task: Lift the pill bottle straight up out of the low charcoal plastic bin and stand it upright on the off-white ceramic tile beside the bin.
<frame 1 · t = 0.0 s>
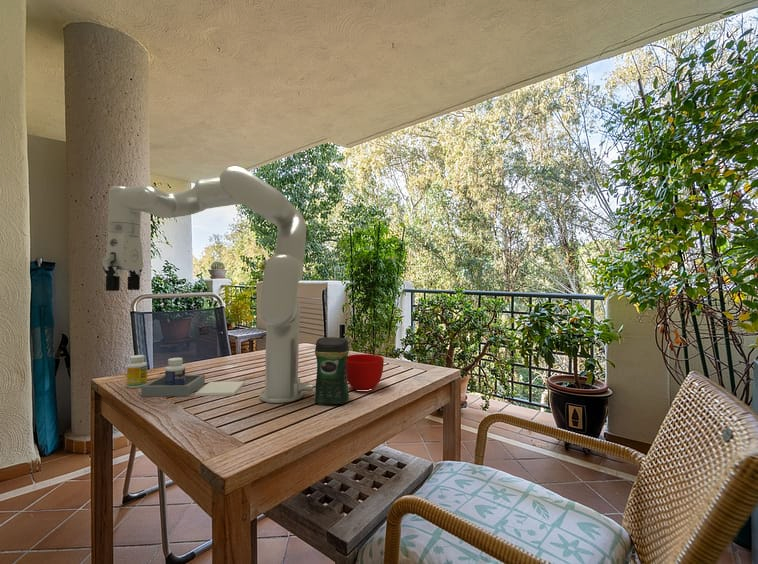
hand: (123, 290, 103), 31 cm above the table, tool pointing down, fingers open, 9 cm apart
ceramic cup: (363, 387, 119), on the table
tile: (221, 389, 113), on the table
supplement bottle: (136, 386, 116), on the table
pill bottle: (175, 390, 112), resting in bin
bin: (175, 389, 112), on the table
coffee jar: (331, 402, 104), on the table
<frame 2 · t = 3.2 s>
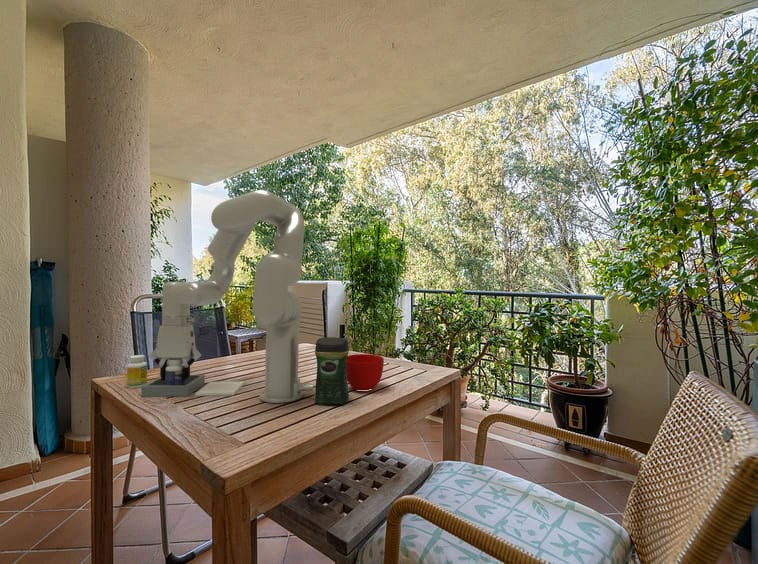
hand: (175, 378, 112), 4 cm above the table, tool pointing down, fingers closed on pill bottle, 5 cm apart
pill bottle: (175, 390, 112), resting in bin, touching gripper
everything else where it was.
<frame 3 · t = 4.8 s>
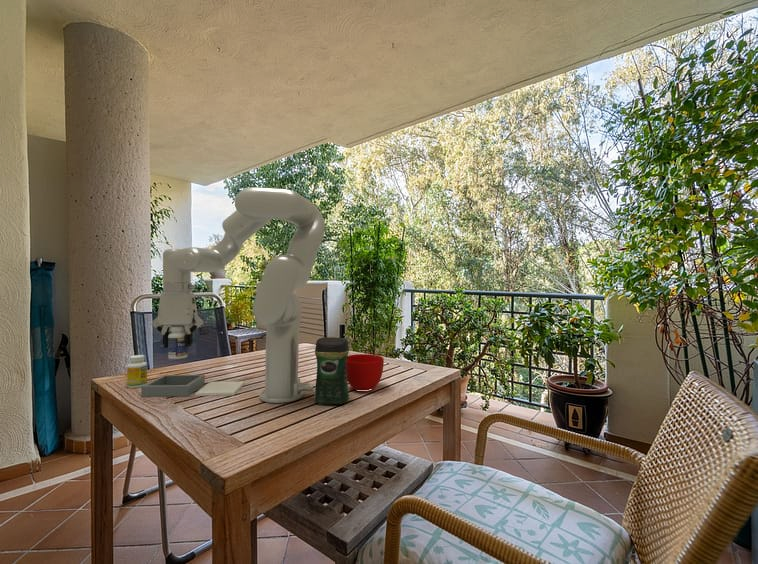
hand: (177, 346, 112), 14 cm above the table, tool pointing down, fingers closed on pill bottle, 5 cm apart
pill bottle: (178, 358, 112), point 10 cm above the table, touching gripper
everything else where it was.
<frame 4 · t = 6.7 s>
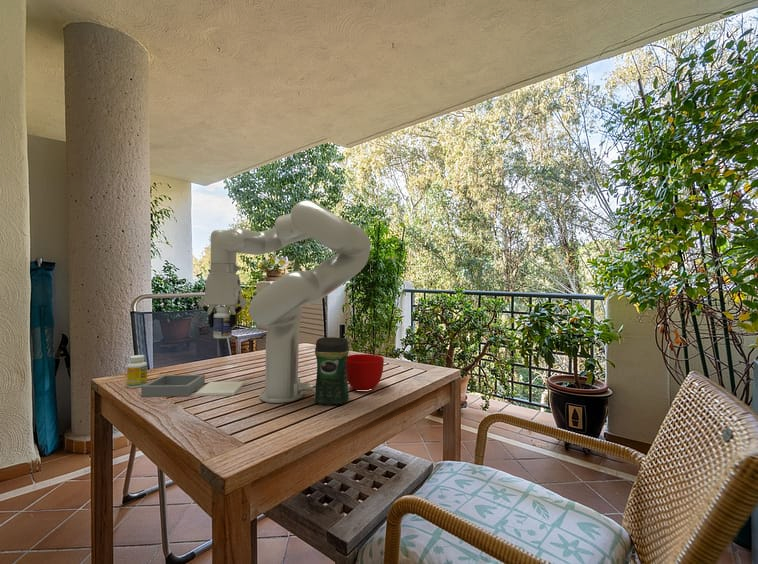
hand: (222, 326, 113), 20 cm above the table, tool pointing down, fingers closed on pill bottle, 5 cm apart
pill bottle: (222, 338, 113), point 16 cm above the table, touching gripper
everything else where it was.
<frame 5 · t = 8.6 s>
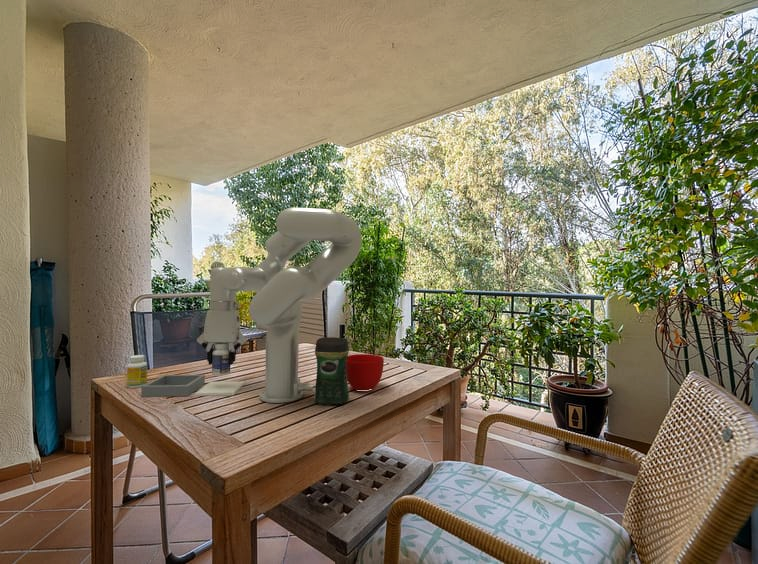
hand: (221, 363, 113), 8 cm above the table, tool pointing down, fingers closed on pill bottle, 5 cm apart
pill bottle: (221, 374, 113), point 5 cm above the table, touching gripper
everything else where it was.
when the fingers open (6 cm above the table, at t = 10.1 s): pill bottle drops 1 cm, resting on tile.
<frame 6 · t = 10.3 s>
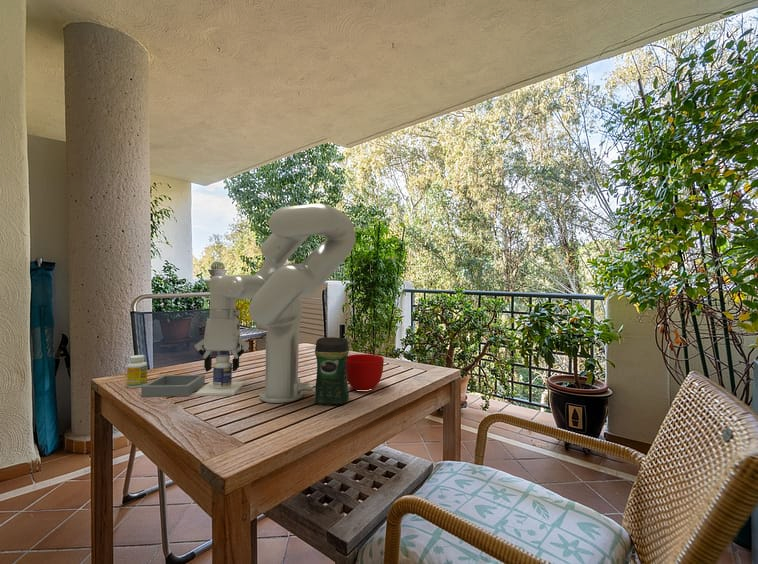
hand: (221, 370, 113), 6 cm above the table, tool pointing down, fingers open, 7 cm apart
pill bottle: (222, 387, 113), point 1 cm above the table, touching tile
everything else where it was.
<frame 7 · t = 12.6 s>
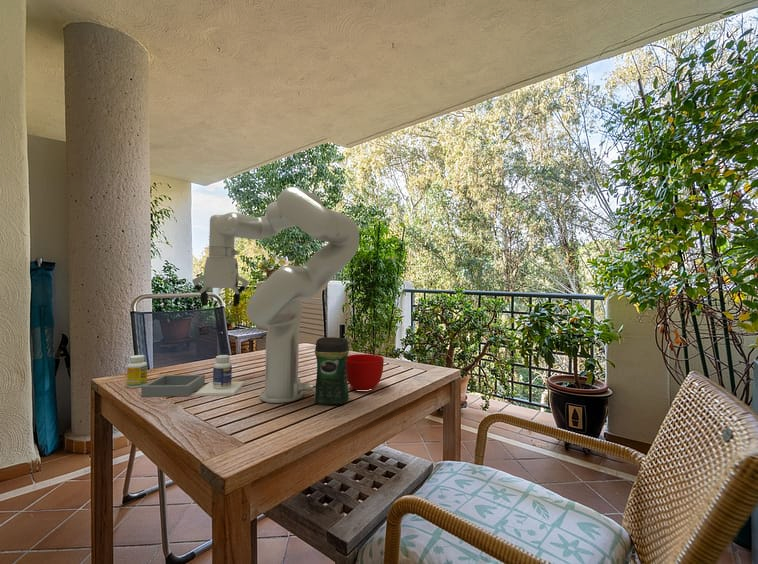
hand: (220, 305, 117), 26 cm above the table, tool pointing down, fingers open, 9 cm apart
nothing on the table moved.
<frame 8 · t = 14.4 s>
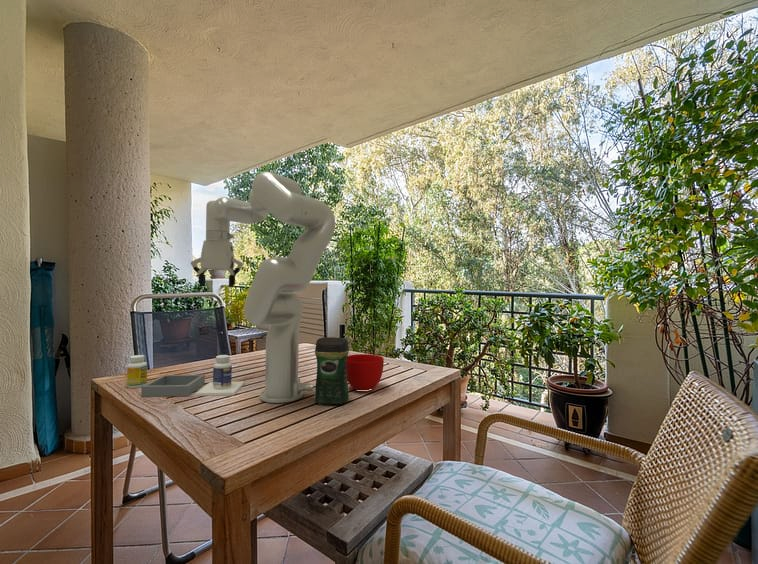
hand: (216, 286, 125), 32 cm above the table, tool pointing down, fingers open, 9 cm apart
nothing on the table moved.
at the end: pill bottle inside the target area on the tile (0.3 cm from its centre), point 0.6 cm above the tile's base; pill bottle tilted 0°; the gripper is holding nothing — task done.
